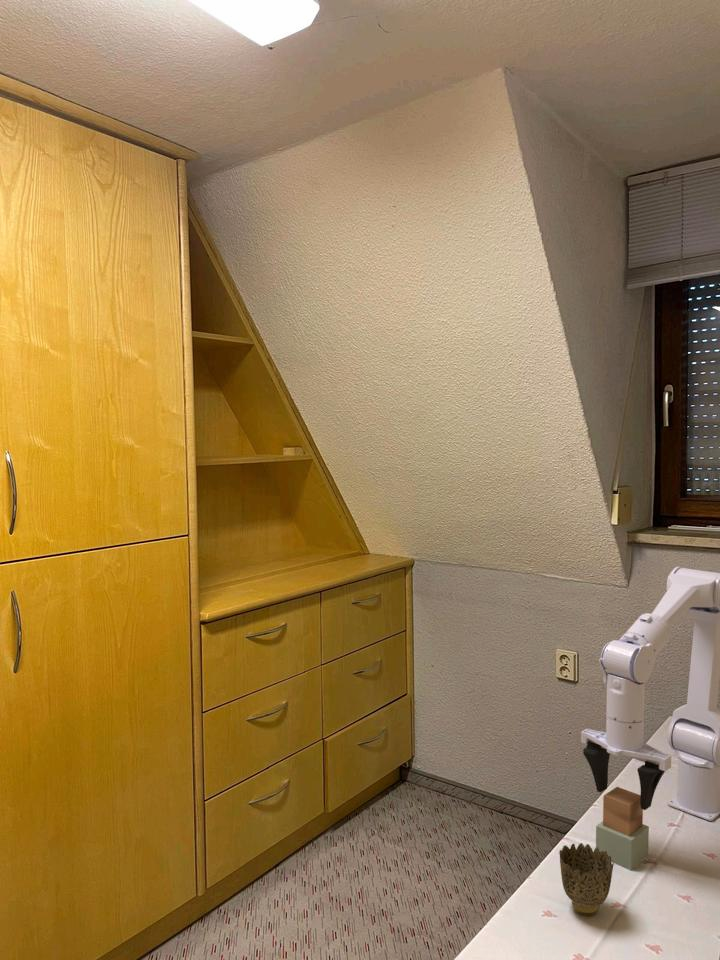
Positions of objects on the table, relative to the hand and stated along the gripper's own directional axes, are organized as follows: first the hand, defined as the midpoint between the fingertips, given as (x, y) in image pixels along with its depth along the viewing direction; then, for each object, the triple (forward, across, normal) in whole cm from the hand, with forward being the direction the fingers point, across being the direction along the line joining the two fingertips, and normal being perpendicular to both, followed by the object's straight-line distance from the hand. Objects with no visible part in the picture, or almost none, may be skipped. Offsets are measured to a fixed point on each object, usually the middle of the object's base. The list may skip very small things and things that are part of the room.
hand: (623, 798), depth 120 cm
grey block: (+10, 0, 0) cm, 10 cm away
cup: (+10, +4, -17) cm, 20 cm away
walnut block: (+5, 0, 0) cm, 5 cm away
